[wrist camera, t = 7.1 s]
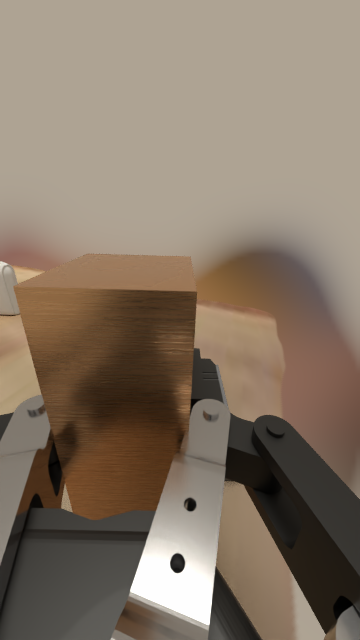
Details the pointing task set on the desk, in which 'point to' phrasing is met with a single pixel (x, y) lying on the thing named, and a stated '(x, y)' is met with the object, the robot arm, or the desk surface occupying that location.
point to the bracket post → (113, 372)
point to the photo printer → (8, 290)
